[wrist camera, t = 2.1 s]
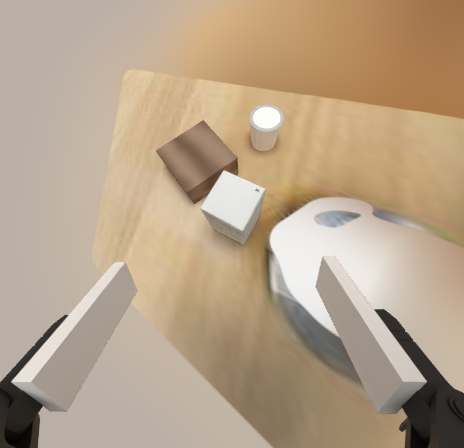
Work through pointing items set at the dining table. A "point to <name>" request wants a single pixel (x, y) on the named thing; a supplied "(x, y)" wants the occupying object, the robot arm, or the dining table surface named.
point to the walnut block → (198, 160)
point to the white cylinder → (265, 126)
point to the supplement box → (233, 206)
